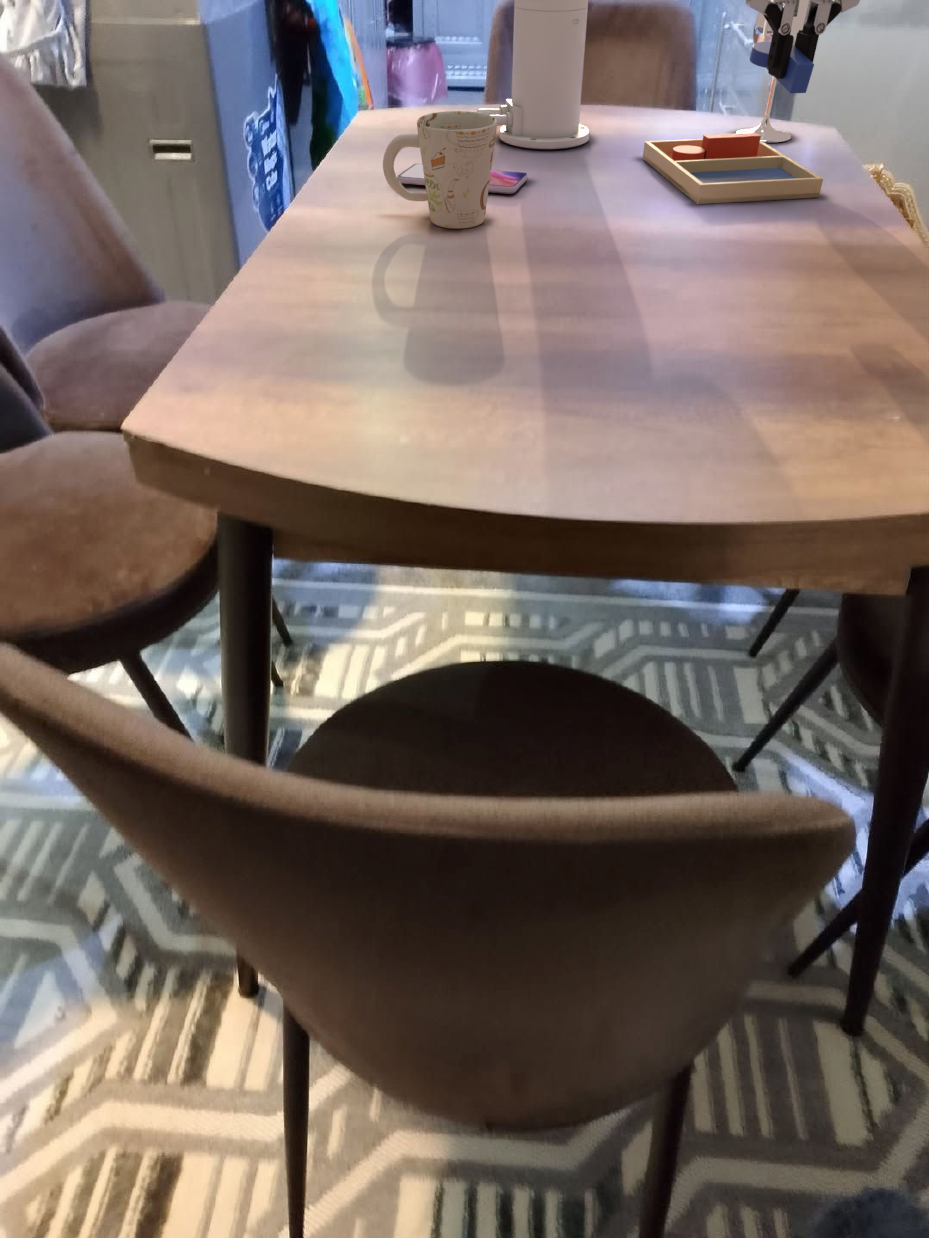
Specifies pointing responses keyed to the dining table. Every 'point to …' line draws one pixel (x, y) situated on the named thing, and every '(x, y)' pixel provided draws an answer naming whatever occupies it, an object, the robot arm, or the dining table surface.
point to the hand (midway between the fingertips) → (787, 74)
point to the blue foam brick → (796, 69)
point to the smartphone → (498, 182)
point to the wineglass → (765, 35)
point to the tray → (733, 174)
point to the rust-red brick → (720, 147)
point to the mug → (449, 165)
